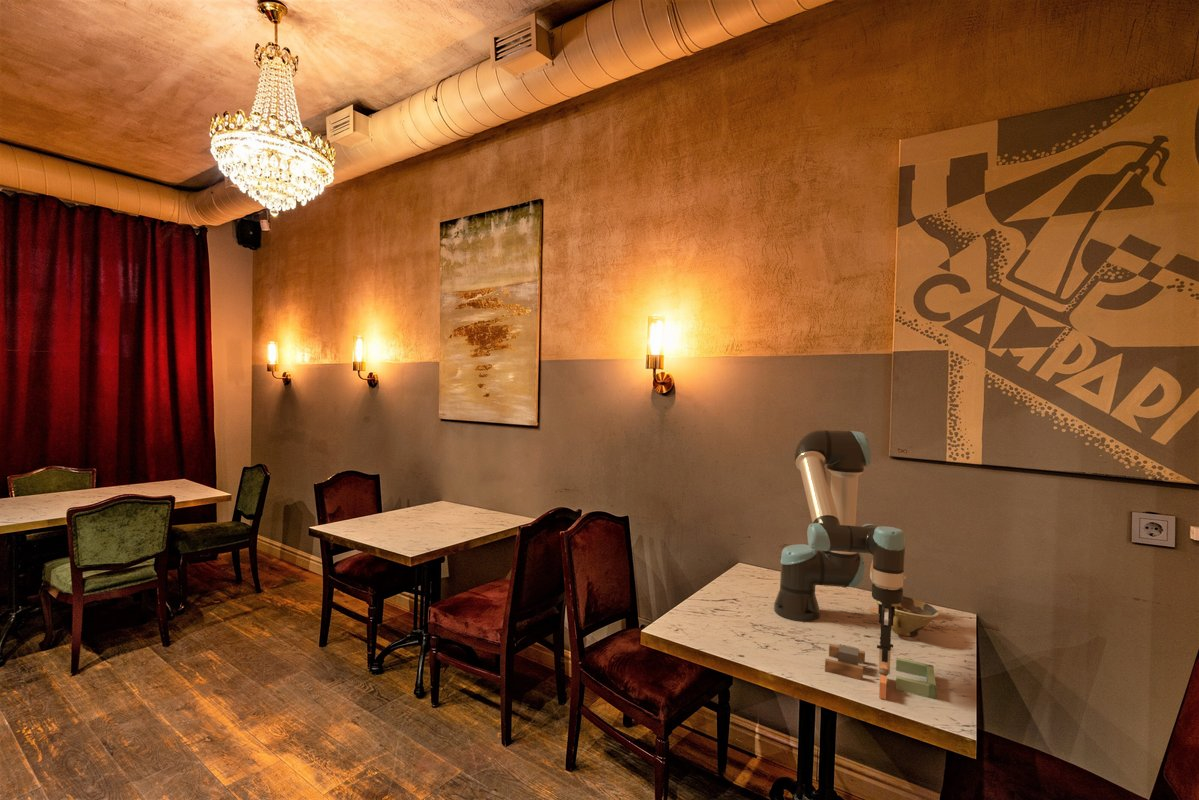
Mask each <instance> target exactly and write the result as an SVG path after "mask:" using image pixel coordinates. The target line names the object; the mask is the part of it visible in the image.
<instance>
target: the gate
mask: <svg viewBox="0 0 1199 800" xmlns="http://www.w3.org/2000/svg"><path fill="white" fill-rule="evenodd" d="M878 673H879V675H880V676H879V693H878V694H879V696H878V698H879V699H882V700H886V699H887V679H888V675H889V674H888V670H887V666H886V665H882V664H881V668H880V669H879V668H878Z"/></svg>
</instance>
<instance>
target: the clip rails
mask: <svg viewBox="0 0 1199 800" xmlns="http://www.w3.org/2000/svg"><path fill="white" fill-rule="evenodd" d="M828 645H829V646H828V657H831V658H836V659H838V651H839V646H840V645H835V644H831V643H829V644H828ZM836 659H830V658H825V659H824V661H825V662H824V672H826V673H831V674H836V675H839V676H843V677H846V678H847V677H848V678H852V679H856V680H860V681H863V679H864V677H863V676H864V666H861V665H858V666H857V665H853V664H848V663H844V662H840V661H838V660H836ZM865 660H866V651H864V650H859V659H858V664H862V665H865V663H866V662H865Z"/></svg>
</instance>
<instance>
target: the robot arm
mask: <svg viewBox="0 0 1199 800" xmlns="http://www.w3.org/2000/svg"><path fill="white" fill-rule="evenodd" d="M793 455H794V458H793V459H794V464H795V466H796V468H797V470H799V471H800V474H801V479H802V483H803V484H802V485H803V487H804V492H805V493H804V494H805V497H806V501H807V505H808V510H809V513H810V518H811V522H812V523H810V524H809V525H808V527H807V531H806V532H807V534H806V535H807V544H804V543H803V544H800V543H799V544H791V545H790V544H789V545H787V546H785V547H784V548H783V549H782V550H781V555H780V556H781V557H780V579H779V580H780V581H779V582H780V584H779V590H778V593H777V595H776V598H775V601H774V604H773V611H774V613H775V614H777V615H778V616H780V617H782V618H785V619H789V620H791V621H798V622H813V621H817V620H818V619H819V618H820V615H821V614H820V613H821V610H820V606H819V603H818V600H817V595H816V586H822V587H823V586H825V587H836V588H838V587H839V588H857V587H858V586H859V585H860V584H861V583H862V582H863V579H864V575H865V560H864V556H863V555H862V554H871V555H873V556H872V560H873V568H872V580H871V582H872V584H871V597H872V599H874V601H876V600H877V601H880V602H882V604H879V608H878V613H879V614H878V615H879V616H878V619H879V620H878V623H879V625H880V636H879V640H880V641H879V644H876V645H877V646H876V649H878V650H879V652H878V653H879V654H878V655H879V656H878V670H879V669H880V668H881V664H882V665H886V666H887V670H888V675H890V673H891V655H892V654H891V651H892V648H894V644H892V643H891V642H892V641H891V640H892V628H891V626H893V617H894V616H895V607H894V606H892V604H900V603H902V601H903V596H904V589H903V586H904V580H906V579H907V576H906V575H904V570H905V569H904V568H905V555H906V554H905V553H906V552H905V551H906V550H905V549H906V545H907V544H906V537H905V536H906V534H905V532H904V530H903V529H901V528H897V527H892V526H884V525H882V526H878V525H876V524H873V523H865V524H863V525H856V523H857V522H856V521H857V508H858V507H857V504H858V491H859V490H858V489H859V477H860V475H862V474H863V473H865V469H864V468H867V467H869V466H870V465H871V461H872V449H871V444H870V441H869V439H868V437H867V435H866V433H863V432H860V431H856V430H855V431H853V430H830V429H829V430H825V429H816V430H813V431H810V432H808V433H806V434H805V435H804V436H803V437H802V438H801V439H800V440H799V441H798V443H797V444H796V447H795V450H794V454H793ZM825 465H826V468H825ZM826 470H827V471H828V472H829V473H830V475H831V476H830V482H829V480H828V479H829V478H828V476H827V472H826ZM877 601H876V602H877Z"/></svg>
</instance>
